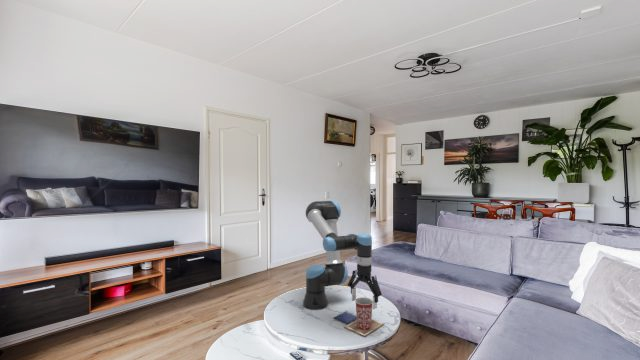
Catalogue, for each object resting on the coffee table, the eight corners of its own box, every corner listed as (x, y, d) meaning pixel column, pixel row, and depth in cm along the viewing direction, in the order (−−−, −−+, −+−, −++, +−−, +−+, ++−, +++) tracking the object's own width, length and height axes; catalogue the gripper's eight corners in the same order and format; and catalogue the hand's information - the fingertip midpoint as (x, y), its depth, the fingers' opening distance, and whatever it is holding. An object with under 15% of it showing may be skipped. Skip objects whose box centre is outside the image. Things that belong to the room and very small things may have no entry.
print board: (344, 328, 150) (344, 326, 150) (363, 317, 162) (363, 315, 162) (364, 337, 141) (364, 335, 141) (383, 325, 153) (383, 323, 153)
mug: (373, 331, 145) (373, 304, 145) (355, 330, 146) (355, 304, 146) (372, 319, 157) (371, 294, 157) (355, 318, 159) (355, 294, 159)
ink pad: (333, 318, 160) (333, 317, 160) (344, 313, 167) (344, 311, 167) (347, 325, 153) (347, 323, 153) (358, 318, 160) (358, 317, 160)
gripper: (341, 260, 158) (341, 299, 158) (380, 271, 140) (380, 314, 140) (350, 257, 163) (350, 295, 163) (388, 267, 145) (388, 309, 146)
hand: (363, 304), depth 152 cm, fingers open, 13 cm apart
